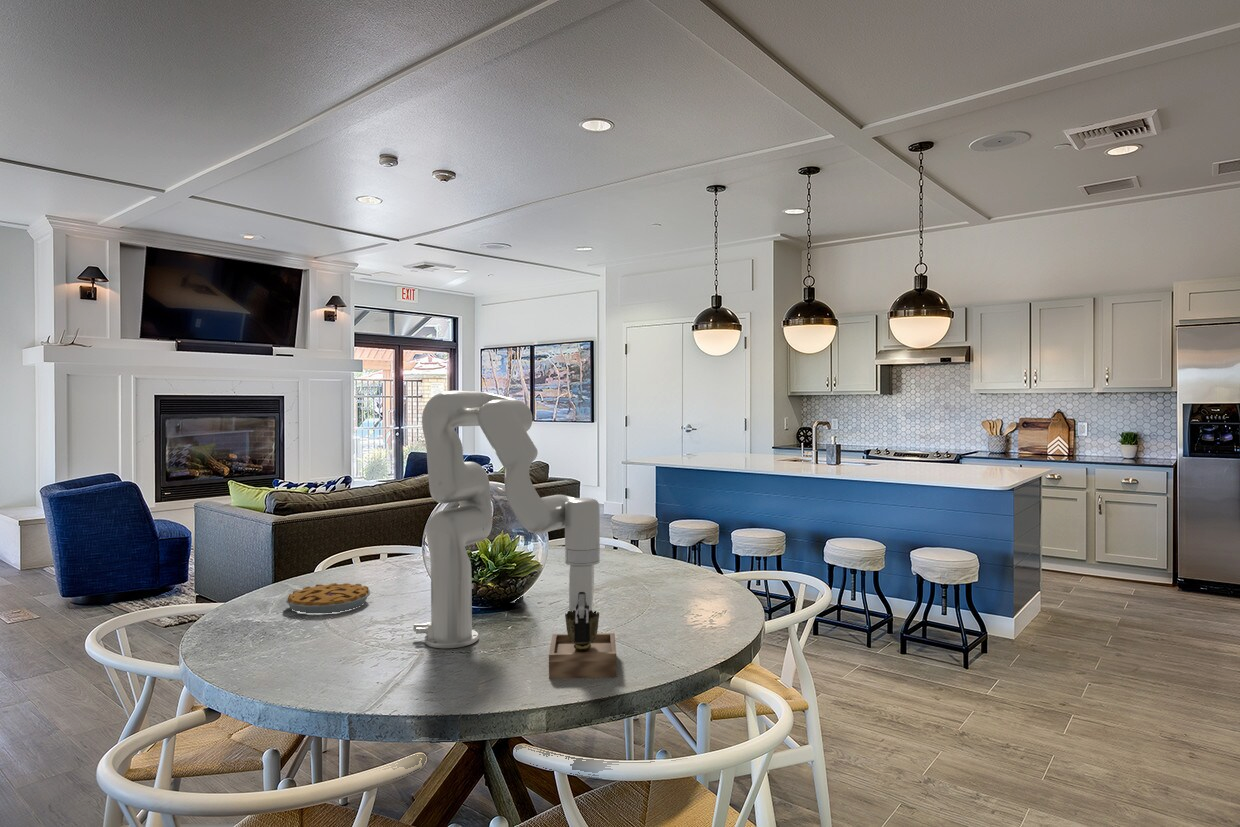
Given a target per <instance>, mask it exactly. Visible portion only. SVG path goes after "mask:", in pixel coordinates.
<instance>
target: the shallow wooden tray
mask: <svg viewBox="0 0 1240 827" xmlns="http://www.w3.org/2000/svg"><path fill="white" fill-rule="evenodd" d="M574 644H575V643H573V642H571V640H570V639H569V637H568V633H552V635H551V641H550V646H549V652H548V680H549V679H550V680H551V679H596V678H597V679H598V678H599V679H602V678H603V679H604V678H605V679H606V678H607V679H608V678H609V679H610V678H611V679H612V678H613V679H614V678H618V677H617V648H616V647H617V645H616V637H615V632H597V635H596V638H595V640H594V641H593V642H591V643H590V644H591V648H590V649H589V650H588V651H585V652H580V651H576V650H575V648H574Z"/></svg>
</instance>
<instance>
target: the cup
mask: <svg viewBox="0 0 1240 827" xmlns="http://www.w3.org/2000/svg"><path fill="white" fill-rule="evenodd" d="M575 616H576V611H575V610H572V612H570V611H569V610H568V611H567V612H565V614H564V618H565V626H566V632H567V633H566V634H568V637H569V639H570V640H571V642H573V643H575V644H574V648H575V650H576V651H580V652H585V651H588V650H589V649H590V648H591V644H590V643H591V642H593V641H594V640H595V638H596V635H597V633H598V629H599V621H600V620H599V619H600V612H599V611H597V610H594V611H593V609H592V610H591V611H590V612H589V620H588V622H590V641H589V642H575V640H574V623H575Z"/></svg>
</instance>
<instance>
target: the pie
mask: <svg viewBox="0 0 1240 827" xmlns="http://www.w3.org/2000/svg"><path fill="white" fill-rule="evenodd" d="M370 595H371V590H370V589H369V587H368V586H366V585H364V586H362V583H361V584H360V583H356V584H351V583H345V582H344V583H340V584H339V583H337V582H336V583H335V582H334V583H330V584H315V586H313V587H312V586H305V587H303V588H302V589H301V590H300V589H299V590H293V592H292V593H290V594H288V596H287V598H286V601H285V602H286V604H288V606H289V607H290V610H291V609H293V610H295V611H300V612H306V613H332V612H340V611H345V610H349V609H353V608H356V607H359V606H361V605H362V604H363V603H364V604H366V601H367V598H368V597H369V596H370ZM362 606H363V605H362ZM362 606H361V607H362ZM359 608H360V607H359Z"/></svg>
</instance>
